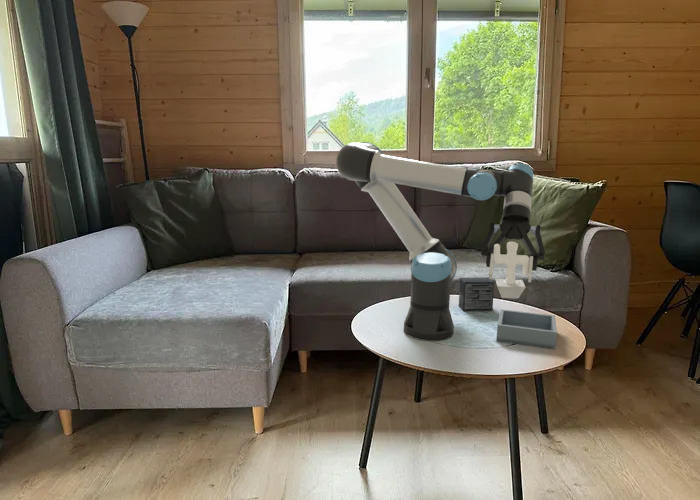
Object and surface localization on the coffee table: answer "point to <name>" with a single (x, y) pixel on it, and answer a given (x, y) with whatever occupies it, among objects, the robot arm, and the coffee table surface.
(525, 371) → the coffee table surface
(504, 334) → the tray
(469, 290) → the small box
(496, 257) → the figurine
